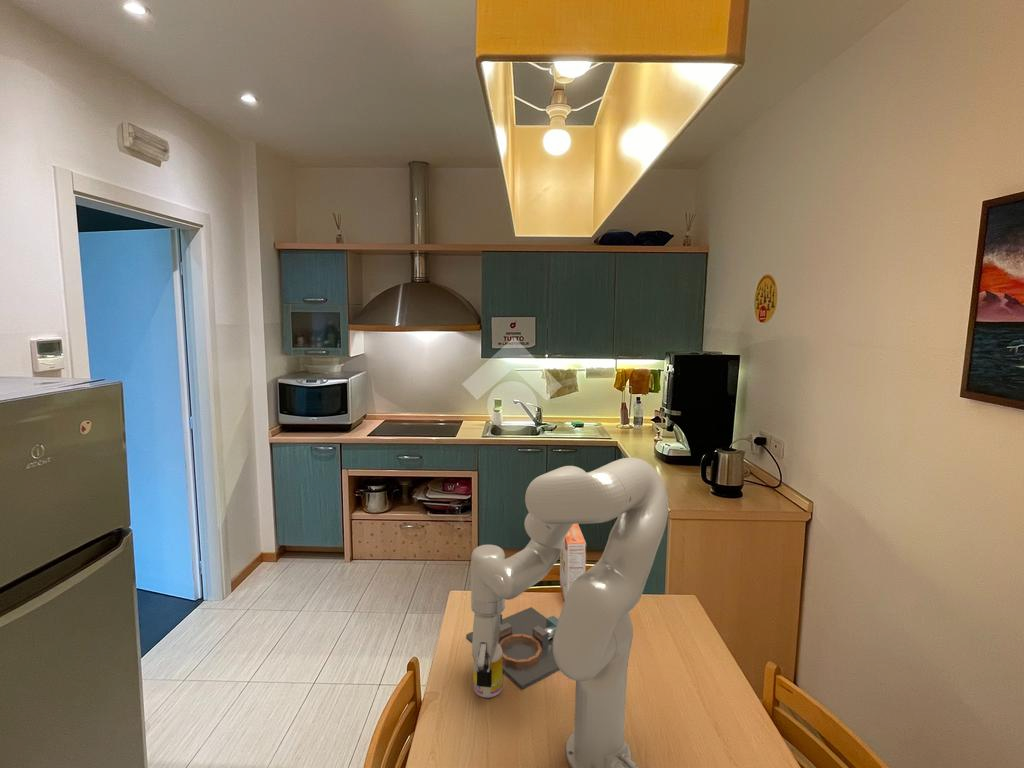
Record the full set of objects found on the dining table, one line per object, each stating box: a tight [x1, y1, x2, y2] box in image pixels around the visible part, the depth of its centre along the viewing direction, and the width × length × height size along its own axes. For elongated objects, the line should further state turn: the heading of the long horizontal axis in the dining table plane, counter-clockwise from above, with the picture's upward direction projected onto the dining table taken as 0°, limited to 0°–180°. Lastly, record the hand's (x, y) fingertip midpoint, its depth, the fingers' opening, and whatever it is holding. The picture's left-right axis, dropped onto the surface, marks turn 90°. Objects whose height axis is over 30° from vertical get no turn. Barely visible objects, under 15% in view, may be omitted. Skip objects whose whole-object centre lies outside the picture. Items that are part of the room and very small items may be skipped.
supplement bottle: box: [472, 642, 504, 699], centre depth 120 cm, size 7×7×13 cm
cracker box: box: [559, 524, 587, 602], centre depth 158 cm, size 14×6×21 cm, turn 2°
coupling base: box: [465, 606, 560, 691], centre depth 136 cm, size 24×22×5 cm
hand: (487, 672), depth 120 cm, fingers open, 7 cm apart
